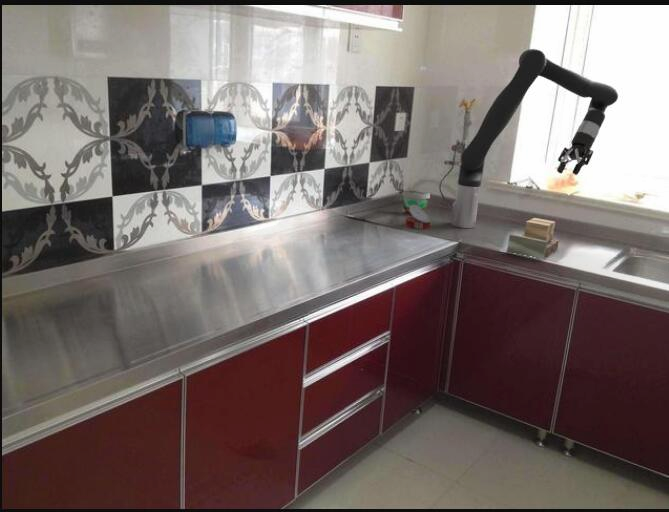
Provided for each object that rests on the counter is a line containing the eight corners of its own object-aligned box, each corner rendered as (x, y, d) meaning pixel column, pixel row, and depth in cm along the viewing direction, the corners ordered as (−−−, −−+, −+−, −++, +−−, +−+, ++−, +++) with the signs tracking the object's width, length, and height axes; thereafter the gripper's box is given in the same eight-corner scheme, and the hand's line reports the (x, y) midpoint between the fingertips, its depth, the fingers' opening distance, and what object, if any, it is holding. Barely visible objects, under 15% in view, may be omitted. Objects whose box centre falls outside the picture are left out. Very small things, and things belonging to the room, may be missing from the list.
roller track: (523, 242, 248) (526, 225, 246) (557, 249, 242) (560, 232, 240) (506, 252, 232) (509, 234, 230) (542, 259, 225) (545, 242, 223)
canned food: (419, 235, 266) (432, 214, 265) (426, 238, 256) (440, 217, 256) (397, 221, 264) (410, 200, 263) (403, 224, 254) (416, 203, 253)
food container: (399, 214, 279) (401, 192, 277) (400, 211, 285) (402, 189, 282) (427, 217, 278) (430, 195, 275) (428, 215, 283) (430, 192, 281)
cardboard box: (531, 235, 246) (534, 217, 244) (552, 239, 242) (555, 221, 240) (523, 240, 238) (526, 221, 236) (545, 244, 234) (548, 225, 232)
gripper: (566, 130, 251) (547, 167, 251) (592, 130, 238) (573, 169, 238) (578, 140, 254) (560, 176, 254) (605, 140, 241) (586, 178, 241)
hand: (566, 173), depth 246 cm, fingers open, 8 cm apart
